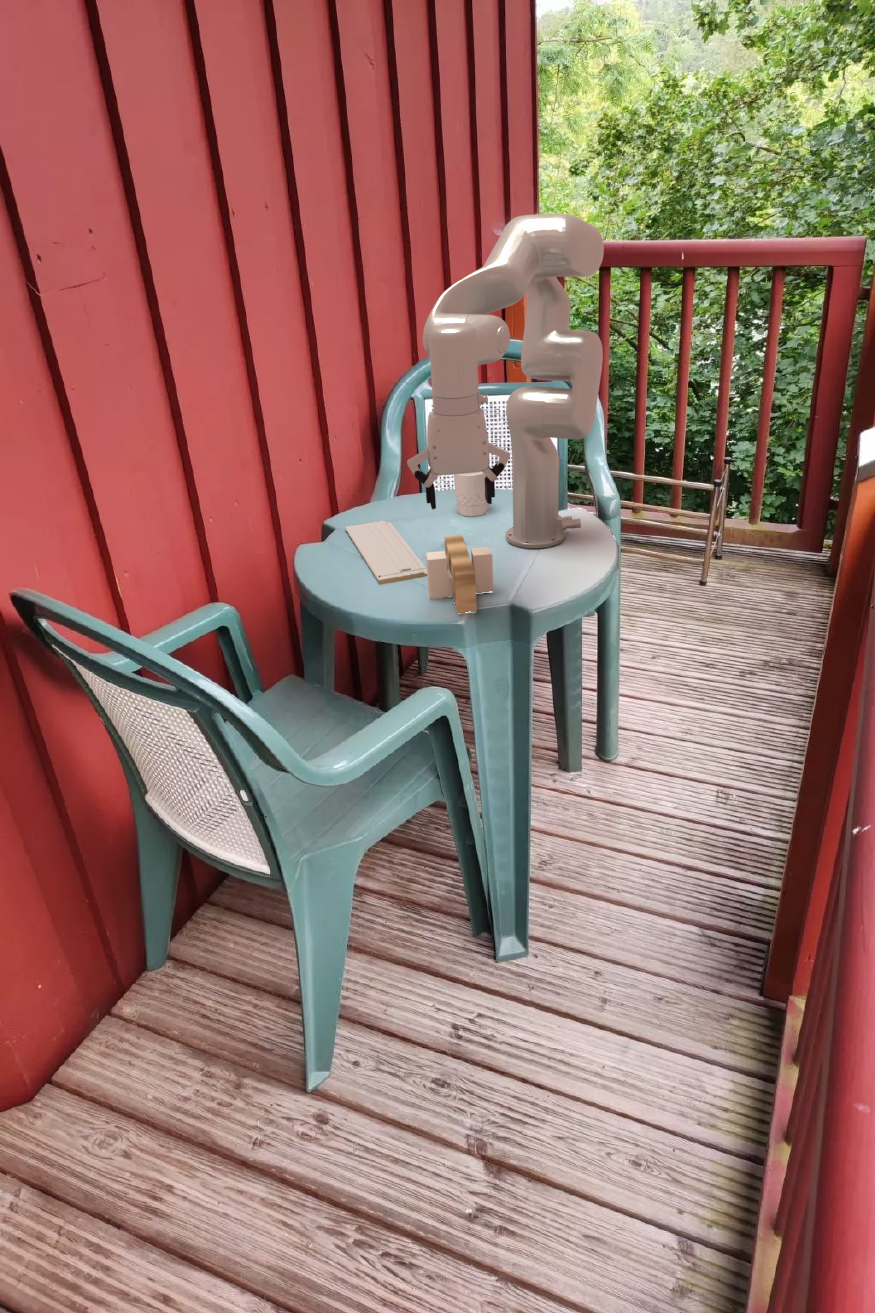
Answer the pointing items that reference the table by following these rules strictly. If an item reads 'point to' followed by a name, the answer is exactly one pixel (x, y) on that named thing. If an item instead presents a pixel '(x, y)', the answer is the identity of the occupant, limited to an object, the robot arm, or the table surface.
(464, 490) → the white cup
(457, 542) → the oak slotted board
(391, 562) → the baseboard molding
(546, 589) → the table surface
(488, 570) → the cream upright board
